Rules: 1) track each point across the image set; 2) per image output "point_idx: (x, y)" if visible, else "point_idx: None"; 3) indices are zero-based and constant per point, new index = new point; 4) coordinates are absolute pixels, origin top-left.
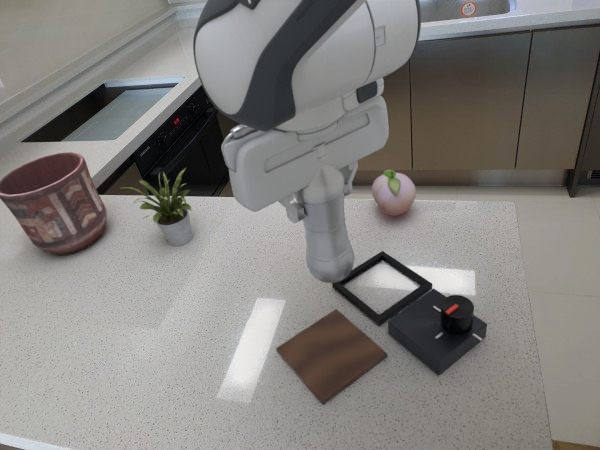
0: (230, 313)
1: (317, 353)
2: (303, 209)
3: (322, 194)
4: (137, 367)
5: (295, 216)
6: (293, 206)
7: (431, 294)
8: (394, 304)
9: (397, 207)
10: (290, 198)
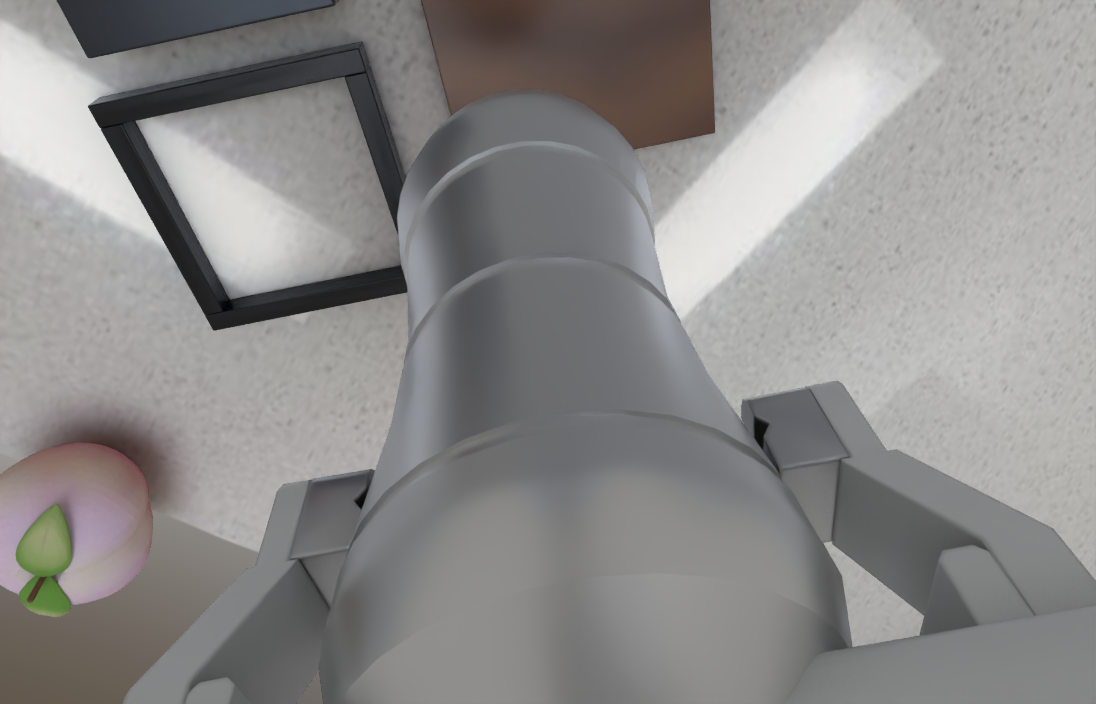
0: (749, 327)
1: (613, 38)
2: (778, 454)
3: (690, 496)
4: (1041, 275)
5: (858, 419)
6: (910, 495)
7: (108, 32)
8: (270, 90)
9: (81, 462)
10: (989, 572)
